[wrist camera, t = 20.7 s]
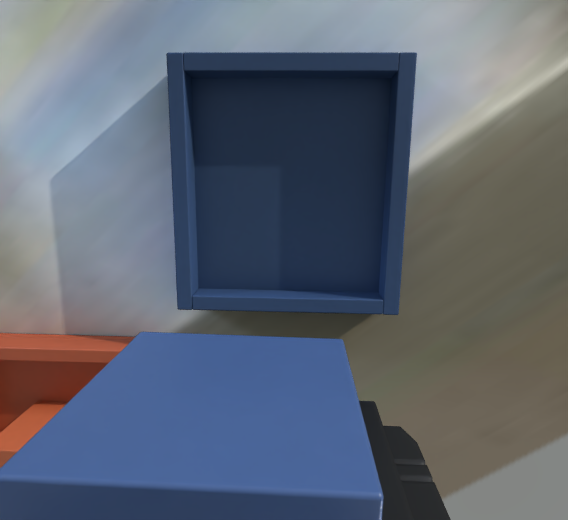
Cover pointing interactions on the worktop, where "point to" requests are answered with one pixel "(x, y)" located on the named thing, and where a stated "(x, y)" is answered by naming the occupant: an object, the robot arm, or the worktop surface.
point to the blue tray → (290, 179)
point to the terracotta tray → (49, 368)
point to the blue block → (203, 437)
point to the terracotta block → (26, 427)
